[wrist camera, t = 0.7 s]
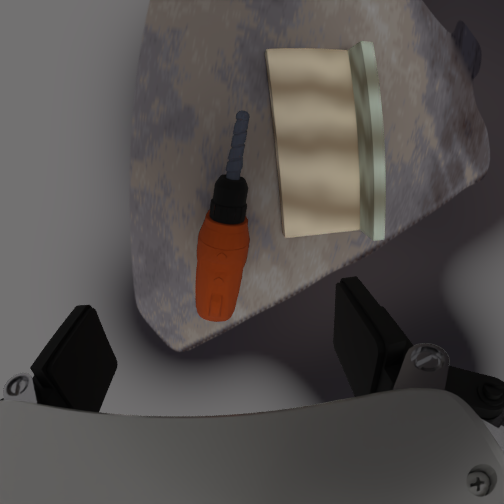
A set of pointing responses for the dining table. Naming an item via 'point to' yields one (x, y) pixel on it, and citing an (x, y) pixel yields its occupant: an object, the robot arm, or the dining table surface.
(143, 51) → the dining table surface
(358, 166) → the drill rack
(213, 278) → the toy drill
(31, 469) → the robot arm
